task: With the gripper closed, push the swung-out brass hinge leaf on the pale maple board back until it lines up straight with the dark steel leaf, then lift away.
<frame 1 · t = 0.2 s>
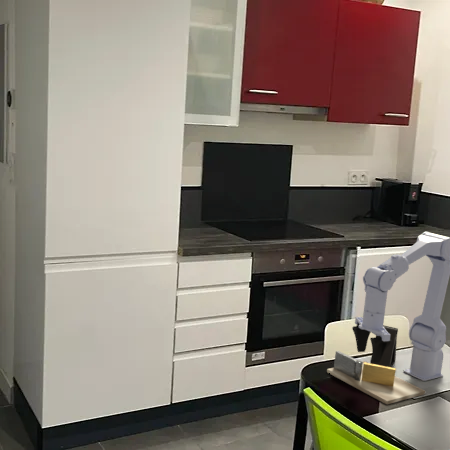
hand: (368, 356, 183), 10 cm above the table, fingers open, 7 cm apart
steel leaf: (356, 382, 188), resting on maple board
maple board: (374, 382, 189), on the table
door stopper: (382, 363, 206), on the table
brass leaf: (378, 374, 186), point 4 cm above the table, hinge at 38.0°
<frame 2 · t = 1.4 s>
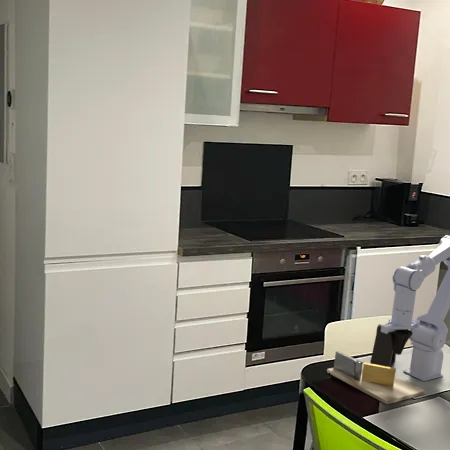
hand: (396, 353, 188), 9 cm above the table, fingers closed
nothing on the table moved.
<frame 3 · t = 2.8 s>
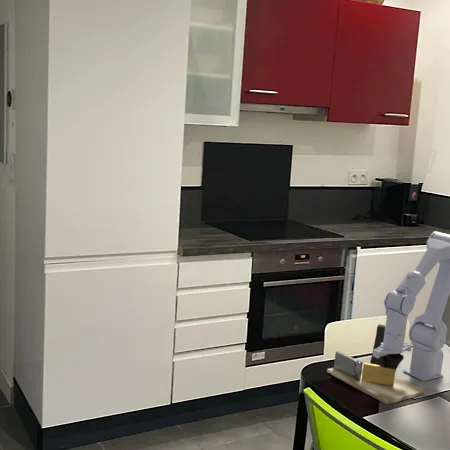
hand: (388, 377, 188), 2 cm above the table, fingers closed
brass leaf: (378, 374, 186), point 4 cm above the table, hinge at 38.0°, touching gripper
everything else where it was.
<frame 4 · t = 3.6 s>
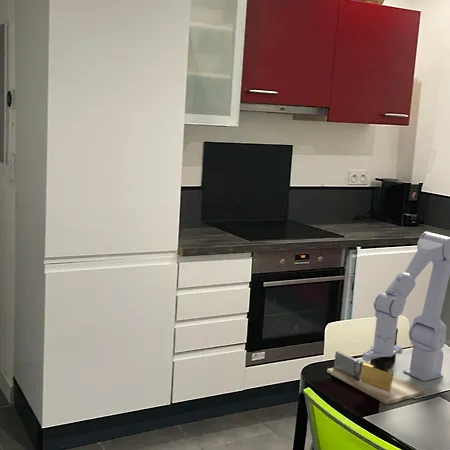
hand: (379, 380, 186), 2 cm above the table, fingers closed, pressing on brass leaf
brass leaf: (376, 376, 184), point 4 cm above the table, hinge at 16.9°, touching gripper
everything else where it was.
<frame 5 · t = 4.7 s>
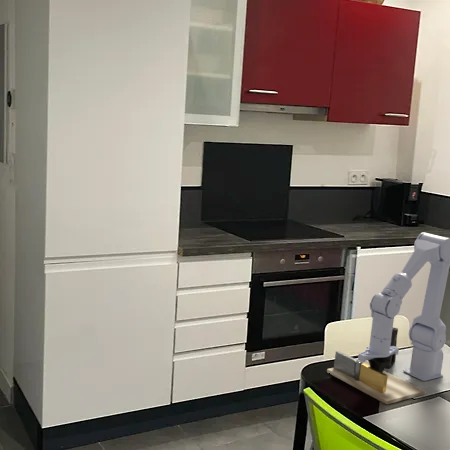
hand: (375, 381, 185), 2 cm above the table, fingers closed
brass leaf: (373, 377, 183), point 4 cm above the table, hinge at -0.5°, touching gripper
everything else where it was.
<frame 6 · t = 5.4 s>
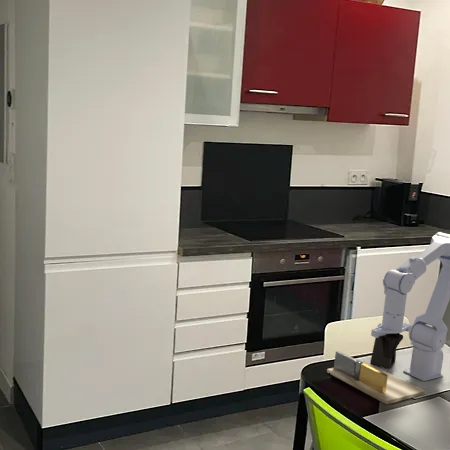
hand: (387, 357, 186), 9 cm above the table, fingers closed
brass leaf: (373, 377, 183), point 4 cm above the table, hinge at -0.5°
everything else where it was.
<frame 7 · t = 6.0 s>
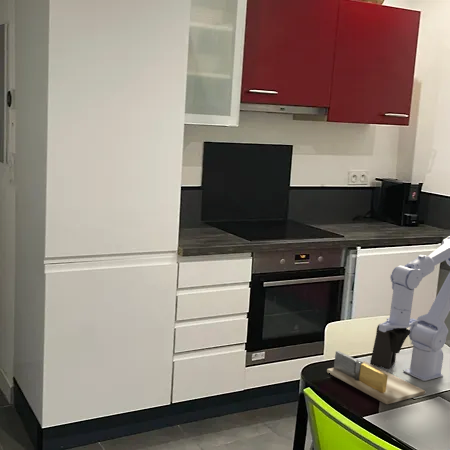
hand: (394, 352, 189), 9 cm above the table, fingers closed
nothing on the table moved.
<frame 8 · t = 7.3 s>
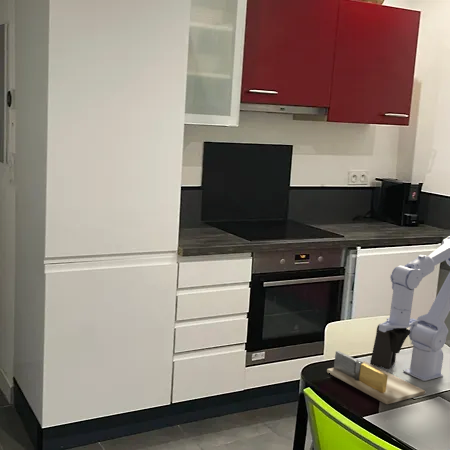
hand: (394, 352, 189), 9 cm above the table, fingers closed
nothing on the table moved.
at the end: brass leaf at +0° (first picture: +38°); door stopper moved 0.3 cm from its start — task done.
